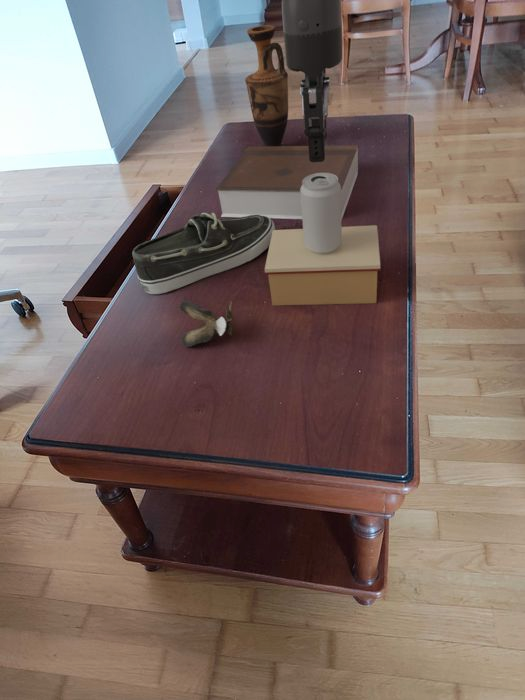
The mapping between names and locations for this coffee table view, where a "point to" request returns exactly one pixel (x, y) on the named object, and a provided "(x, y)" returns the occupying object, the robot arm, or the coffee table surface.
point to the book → (282, 179)
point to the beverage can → (321, 212)
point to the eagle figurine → (211, 323)
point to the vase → (268, 88)
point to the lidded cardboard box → (324, 269)
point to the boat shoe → (200, 250)
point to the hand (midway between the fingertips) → (318, 149)
